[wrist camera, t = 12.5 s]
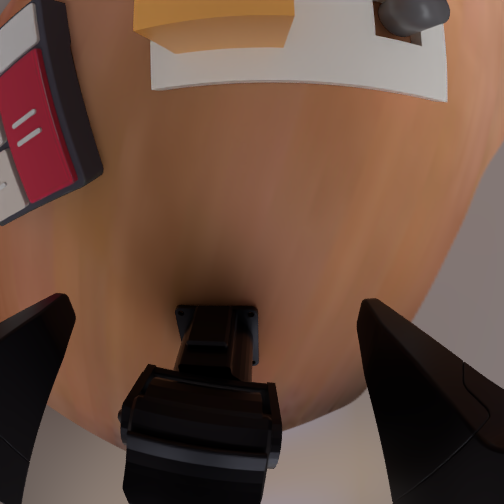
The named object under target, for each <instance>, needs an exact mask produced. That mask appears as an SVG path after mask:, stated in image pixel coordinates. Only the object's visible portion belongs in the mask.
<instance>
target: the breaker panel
mask: <svg viewBox="0 0 504 504" xmlns="http://www.w3.org/2000/svg"><path fill="white" fill-rule="evenodd" d="M372 1H376V2H380V3H383V2H385V1H386V0H294V10H295V17H294V19H293V22H292V25H291V28H290V31H289V33H288V36H287V39H286V42H285V45H284V48H277V47H258V48H230V49H216V50H205V51H195V52H187V53H180V54H174V53H173V52H171V51H169V50H167V49H166V48H164V47H162V46H160V45H158V44H157V43H155V42H153V41H151V40H150V51H151V89H152V90H157V91H163V90H170V89H177V88H185V87H194V86H205V85H217V84H233V83H309V84H325V85H337V86H348V87H357V88H365V89H372V90H379V91H385V92H391V93H397V94H403V95H408V96H413V97H418V98H422V99H427V100H431V101H435V102H447V62H446V47H445V36H444V27H443V24H440V25H437V26H434V27H432V28H429V29H426V30H423V31H421V32H418V33H416V34H413V35H410V36H411V43H407V42H403V41H399V40H395V39H390V38H386V37H381V36H376V35H375V22H374V11H373V2H372Z"/></svg>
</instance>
